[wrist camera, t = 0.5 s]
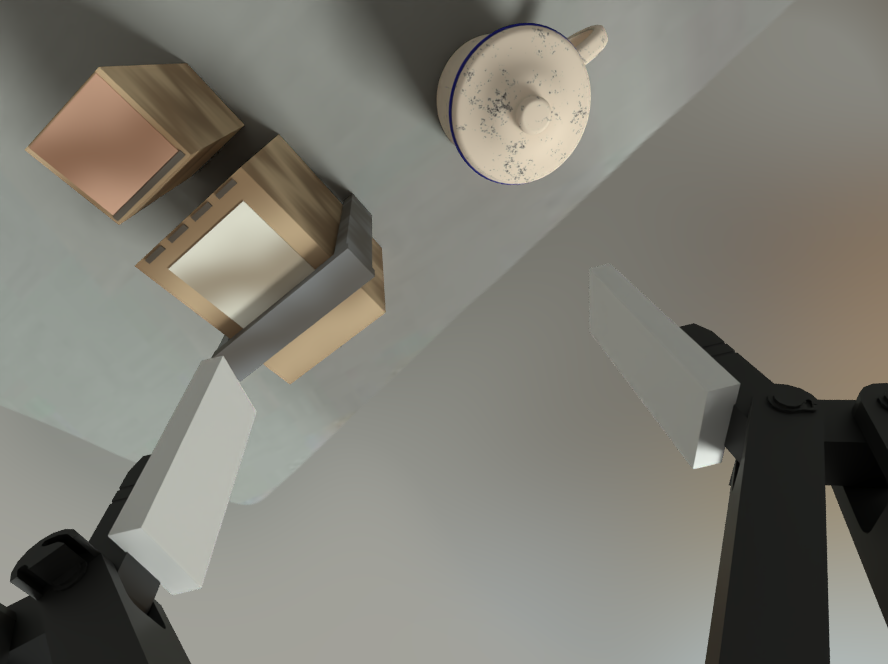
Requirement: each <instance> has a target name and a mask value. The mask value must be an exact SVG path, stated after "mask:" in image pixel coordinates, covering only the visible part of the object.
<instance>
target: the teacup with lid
mask: <svg viewBox="0 0 888 664" xmlns="http://www.w3.org/2000/svg"><path fill="white" fill-rule="evenodd" d="M607 41H608V36H607V33H606V31H605V29H604V27H603V26H601V25H594V26H590V27H588V28H585V29H583V30H581V31H579V32H577V33H575V34H573V35H571V36H570V37H568V38H566V37H565V36H563V35H562V34H561V33H559V32H557V31H556V30H554V29H552V28H549V27H547V26H544V25H540V24H535V23H518V24H513V25H509V26H506V27H503V28H501V29H498V30H496V31H494V32H493V33H491V34H486V35H481V36H478V37H476V38H473V39H471V40H469V41H468V42H466V43H465V44H463V45H462V46H461V47H460V48H459V49H458V50H456V52H455V53H454V54H453V55H452V56H451V58H450V59H449V60H448V62H447V64H446V65H445V67H444V69H443V71H442V74H441V77H440V80H439V83H438V89H437V111H438V116H439V120H440V123H441V126H442V128H443V130H444V132H445V134H446V135H447V137H448V138H449V140H450V141H451V142H452V143H453V144H454V145H455V146H456V148H457V150H458V152H459V154H460V155H461V157H462V158H463V160H464V161H465V162H466V163H467V164H468V166H469V167H470V168H471V169H473V170H474V171H475V172H476V173H477V174H479V175H480V176H482V177H484V178H486V179H488V180H490V181H493V182H496V183H500V184H507V185H518V184H525V183H529V182H532V181H535V180H538V179H540V178H542V177H544V176H546V175H548V174H550V173H551V172H553V171H554V170H555V169H557V168H558V167H559V166H560V165H561V164H562V163H563V162H564V161H565V160H566V159H567V158H568V157H569V156H570V155H571V153H572V152H573V151H574V149H575V148H576V146H577V144H578V143H579V141H580V139H581V137H582V135H583V132H584V130H585V127H586V124H587V121H588V117H589V111H590V103H591V90H590V82H589V77H588V73H587V70H586V67H585V65H586V64H587V63H589V62H590V61H591V60H592V59H594V58H595V57H596V56H597V55H598V54H599V53H600V52H601V51H602V50H603V49H604V47H605V46H606V44H607Z"/></svg>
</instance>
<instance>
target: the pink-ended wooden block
mask: <svg viewBox="0 0 888 664" xmlns="http://www.w3.org/2000/svg"><path fill="white" fill-rule="evenodd" d="M243 126H244V124H243V123H242V122H241V121H240V120H239V119H238V117H237V116H236V115H235V114H234V113H233V112H232V111H231V110H230V109H229V108H228V107H227V106H226V105H225V104H224V103H223V101H222V100H221V99H220V98H219V97H218V96H217V95H216V94H215V93H214V92H213V91H212V90H211V89H210V88H209V87H208V85H207V84H206V83H205V82H204V81H203V80H202V79H201V78H200V77H199V76H198V75H197V74H196V73H195V72H194V70H193V69H192V68H191V67H190V66H189V65H188V64H187V63H181V64H156V65H132V66H108V67H98V69H97V70H96V71H95V72H94V73H93V74H92V75H91V76H90V77H89V79H88V80H87V81H86V82H85V83H84V84H83V85H82V86H81V88H80V89H79V90H78V91H77V92H76V93H75V94H74V95H73V96H72V98H71V99H70V100H69V101H68V102H67V103H66V104H65V105H64V106H63V108H62V109H61V110H60V111H59V112H58V113H57V114H56V115H55V117H54V118H53V119H52V120H51V121H50V122H49V123H48V124H47V125H46V127H45V128H44V129H43V130H42V131H41V132H40V133H39V134H38V135H37V137H36V138H35V139H34V140H33V141H32V142H31V143H30V144H29V146H28V147H27V148H26V149H25V151H27V152H28V153H29V154H30V155H32V156H33V157H34V158H35V159H37V160H38V161H39V162H41V163H42V164H43V165H44V166H46V167H47V168H48V169H49V170H51V171H52V172H53V173H54V174H56V175H57V176H58V177H59V178H61V179H62V180H63V181H64V182H66V183H67V184H68V185H69V186H71V187H72V188H73V189H74V190H76V191H77V192H78V193H79V194H81V195H82V196H83V197H84V198H86V199H87V200H88V201H90V202H91V203H92V204H93V205H95V206H96V207H97V208H98V209H100V210H101V211H102V212H103V213H105V214H106V215H107V216H108V217H110V218H111V219H112V220H113V221H115V222H116V223H117V224H118V225H120V224H121V223H123V222H124V221H126V220H127V219H129V218H130V217H132V216H133V215H135V214H136V213H138V212H139V211H140V210H142V209H143V208H145V207H146V206H148V205H149V204H151V203H152V202H154V201H155V200H157V199H158V198H160V197H161V196H163V195H164V194H166V193H167V192H169V191H170V190H172V189H173V188H175V187H176V186H178V185H179V184H181V183H182V182H184V181H185V180H186V179H188V178H189V177H191V176H192V175H193V174H194V173H195V172H196V171H197V170H198V169H199V168H200V167H202V166H203V165H204V164H205V163H206V162H207V161H208V160H209V159H210V158H211V157H212V156H213V155H214V154H215V153H216V152H217V151H218V150H219V149H220V148H221V147H222V146H223V145H224V144H225V143H227V142H228V141H229V140H230V139H231V138H232V137H233V136H234V135H235V134H236V133H237V132H238V131H239V130H240V129H241V128H242V127H243Z"/></svg>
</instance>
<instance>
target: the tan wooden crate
mask: <svg viewBox="0 0 888 664" xmlns="http://www.w3.org/2000/svg"><path fill="white" fill-rule="evenodd" d="M135 267H137V268H138V269H139V270H140V271H142V272H143V273H144V274H146V275H147V276H148V277H150V278H151V279H152V280H154V281H155V282H156V283H158V284H159V285H160V286H161V287H163V288H164V289H165V290H167V291H168V292H169V293H171V294H172V295H173V296H175V297H176V298H177V299H179V300H180V301H181V302H182V303H184V304H185V305H186V306H188V307H189V308H190V309H192V310H193V311H194V312H196V313H197V314H198V315H200V316H201V317H202V318H203V319H205V320H206V321H207V322H209V323H210V324H211V325H213V326H214V327H215V328H217V329H218V330H219V331H221V332H222V333H223V334H224V337H223V339H222V341H221V343H220V345H219V347H218V349H217V350H216V351H215V352H214V354H213V356H212V358H215V357H219V356H224V358H225V359H226V361H227V363H228V364H229V366H230V368H231V370H232V371H233V373H234V375H235V376H236V378H237V379H238V380H239V381H242V380H243V379H244V378H246V377H247V376H248V375H249V374H251V373H252V372H253V371H255V370H256V369H257V368H258V367H260V366H261V365H262V364H264V365H265V366H266V367H268V368H269V369H270V370H272V371H273V372H274V373H276V374H277V375H278V376H280V377H281V378H282V379H284V380H285V381H286V382H287V383H289V384H291V383H293V382H294V381H295V380H296V379H298V378H299V377H300V376H302V375H303V374H304V373H306V372H307V371H308V370H310V369H311V368H312V367H314V366H315V365H316V364H318V363H319V362H320V361H322V360H323V359H324V358H326V357H327V356H328V355H330V354H331V353H332V352H334V351H335V350H336V349H338V348H339V347H340V346H342V345H343V344H344V343H346V342H347V341H348V340H350V339H351V338H352V337H354V336H355V335H356V334H358V333H359V332H360V331H362V330H363V329H364V328H366V327H367V326H368V325H370V324H371V323H372V322H374V321H375V320H376V319H378V318H379V317H380V316H382V315H383V314H384V313H386V311H385V295H384V278H383V261H382V248H381V247H380V246H379V245H378V243H377V242H376V241H375V240H374V239H373V238H372V215H371V214H370V213H369V212H368V210H367V209H366V208H365V207H364V206H363V205H362V204H361V202H360V201H359V200H358V199H357V198H356V197H355V196H354V194H351V195H350V196H349V197H348V198H347V199H345V200H344V202H343V205H342V204H341V202H340V201H339V200H338V199H337V198H336V197H335V196H334V195H333V194H332V192H331V191H330V190H329V189H328V188H327V187H326V186H325V185H324V184H323V183H322V181H321V180H320V179H319V178H318V177H317V176H316V175H315V174H314V173H313V171H312V170H311V169H310V168H309V167H308V166H307V165H306V164H305V163H304V161H303V160H302V159H301V158H300V157H299V156H298V155H297V154H296V153H295V151H294V150H293V149H292V148H291V147H290V146H289V145H288V144H287V143H286V142H285V140H284V139H283V138H282V137H281V136H280V135H277V136H276V137H275V138H274V139H273V140H272V141H270V142H269V143H268V144H267V145H266V146H265V147H263V148H262V149H261V150H260V151H259V152H258V153H256V154H255V155H254V156H253V157H252V158H251V159H250V160H248V161H247V162H246V163H245V164H244V165H243V166H241V167H240V168H239V169H238V170H237V171H236V172H235V173H234V174H233V175H232V176H231V177H230V178H228V179H227V180H226V181H225V182H224V183H223V184H222V185H221V186H220V187H219V188H218V189H217V190H216V191H215V192H213V193H212V194H211V195H210V196H209V197H208V198H207V199H206V200H205V201H204V202H203V203H202V204H201V205H200V206H198V207H197V208H196V209H195V210H194V211H193V212H192V213H191V214H190V215H189V216H188V217H187V218H186V219H184V220H183V221H182V222H181V223H180V224H179V225H178V226H177V227H176V228H175V229H174V230H173V231H172V232H171V233H169V234H168V235H167V236H166V237H165V238H164V239H163V240H162V241H161V242H160V243H159V244H158V245H157V246H156V247H154V248H153V249H152V250H151V251H150V252H149V253H148V254H147V255H146V256H145V257H144V258H143V259H142V260H141V261H139V262H138V263H137V264H136V265H135Z"/></svg>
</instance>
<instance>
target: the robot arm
mask: <svg viewBox="0 0 888 664" xmlns="http://www.w3.org/2000/svg"><path fill="white" fill-rule="evenodd" d="M589 314H590V316H589V317H590V319H589V321H590V333H591V335H592V336H593V337H594V338H595V340H596V341H597V343H598V344H599V345H600V347H601V348H602V349H603V351H604V352H605V353H606V355H607V356H608V357H609V359H610V360H611V361H612V363H613V364H614V365H615V367H616V368H617V369H618V370H619V372H620V373H621V375H622V376H623V377H624V378H625V380H626V381H627V382H628V384H629V385H630V386H631V388H632V389H633V390H634V392H635V393H636V394H637V396H638V397H639V398H640V400H641V401H642V402H643V404H644V405H645V406H646V407H647V409H648V410H649V411H650V413H651V414H652V416H653V417H654V418H655V420H656V421H657V422H658V424H659V425H660V426H661V428H662V429H663V430H664V432H665V433H666V434H667V435H668V437H669V438H670V439H671V441H672V442H673V443H674V445H675V446H676V447H677V449H678V450H679V451H680V453H681V454H682V455H683V457H684V458H685V459H686V461H687V462H688V463H689V465H690V466H691V467H692V469H696V468H701V467H705V466H709V465H713V464H717V463H721V462H722V458H723V453H724V449H725V447H726V448H727V449H728V450H729V452H730V453H731V454H732V455H733V456H734V457H735V458H736V460H735V464H734V468H733V472H732V476H731V479H730V483H729V485H730V486H731V489H730V496H729V503H728V510H727V517H726V524H725V530H724V538H723V544H722V551H721V558H720V565H719V572H718V579H717V586H716V593H715V599H714V606H713V613H712V619H711V626H710V633H709V640H708V647H707V654H706V660H705V664H830V648H829V610H828V575H827V574H828V573H827V536H826V500H825V499H826V498H825V485H831V486H832V489H833V491H834V494H835V496H836V499H837V501H838V504H839V506H840V509H841V511H842V514H843V516H844V519H845V521H846V524H847V526H848V529H849V531H850V534H851V536H852V539H853V541H854V544H855V547H856V549H857V552H858V554H859V556H860V559H861V562H862V564H863V567H864V569H865V572H866V574H867V577H868V579H869V582H870V584H871V587H872V589H873V592H874V594H875V597H876V599H877V602H878V604H879V607H880V609H881V612H882V614H883V617H884V619H885V622H886V624H887V627H888V383H879V384H871V385H868V386H866V387H864V388H863V389H862V390H861V392H860V393H859V395H858V397H857V400H817V399H816V398H815V397H814V396H813V395H812V394H810V393H808V392H806V391H804V390H802V389H800V388H797V387H793V386H790V385H784V384H774V383H772V382H771V381H770V380H769V379H768V378H767V377H765V376H764V375H763V374H762V373H761V372H760V371H758V370H757V369H756V368H755V367H753V366H752V365H751V364H750V363H749V362H748V361H747V360H745V359H744V358H743V357H742V356H741V355H739V354H738V353H735V351H734V349H732V348H731V347H730V346H729V345H728V344H725V343H724V341H723V340H722V339H720V338H719V337H718V336H717V335H716V334H715V333H713V332H712V331H710V330H708V329H706V328H703V327H701V326H699V325H697V324H689V325H685V326H681V327H679V326H677V325H676V324H675V323H674V322H673V321H672V320H671V319H670V318H669V317H668V316H667V315H666V314H664V313H663V312H662V311H661V310H660V309H659V308H658V307H657V306H656V305H655V304H654V303H653V302H651V301H650V300H649V299H648V298H647V297H646V296H645V295H644V294H643V293H642V292H641V291H640V290H638V289H637V288H636V287H635V286H634V285H633V284H632V283H631V282H630V281H629V280H628V279H627V278H625V277H624V276H623V275H622V274H621V273H620V272H619V271H618V270H616V268H614V266H612V265H611V264H606V265H602V266H597V267H593V268H590V269H589ZM255 415H256V410H255V408H254V407H253V405H252V403H251V402H250V400H249V398H248V396H247V395H246V393H245V391H244V390H243V388H242V386H241V385H240V383H239V381H238V380H237V378H236V376H235V375H234V373H233V371H232V370H231V368H230V366H229V364H228V363H227V361H226V359H225V358H224V356H219V357H215V358H211V359H207V360H202V361H201V363H200V365H199V367H198V368H197V370H196V372H195V374H194V376H193V378H192V380H191V382H190V383H189V385H188V387H187V389H186V391H185V393H184V395H183V396H182V398H181V400H180V402H179V404H178V406H177V408H176V409H175V411H174V413H173V415H172V417H171V419H170V421H169V423H168V424H167V426H166V428H165V430H164V432H163V434H162V436H161V437H160V439H159V441H158V443H157V445H156V447H155V449H154V450H153V452H152V454H151V455H147V456H143V457H142V458H141V459H140V460H139V461H138V462H137V463H136V464H135V465H134V466H133V468H132V469H131V470H130V471H129V472H128V474H127V475H126V477H125V479H124V480H123V483H122V484H121V486H120V490H119V491H117V493H116V494H115V496H114V498H113V500H112V504H110V505H109V507H108V509H107V510H106V512H105V514H104V516H103V517H102V519H101V521H100V523H99V524H98V526H97V528H96V530H95V531H94V533H93V535H92V537H91V539H90V540H89V542H88V541H87V540H85V539H84V538H83V537H82V536H81V535H80V534H78V533H77V532H76V531H75V530H74V529H64V530H61V531H58V532H55V533H53V534H51V535H49V536H47V537H45V538H44V539H42V540H40V541H39V542H38V543H37V544H35V545H34V546H33V547H32V548H30V549H29V550H28V551H27V552H26V553H25V555H24V556H23V557H22V558H21V559H20V560H19V561H18V562H17V564H16V566H15V567H14V569H13V571H12V573H11V579H10V582H11V583H12V584H14V585H15V586H17V587H18V588H20V589H21V590H23V591H24V592H26V593H27V594H29V596H28V597H26V598H23V599H22V600H20V601H18V602H16V603H14V604H12V605H10V606H8V607H6V606H4V605H2V604H1V603H0V664H191V663H190V661H189V659H188V657H187V655H186V653H185V651H184V649H183V647H182V645H181V643H180V641H179V640H178V637H177V635H176V633H175V631H174V630H173V628H172V626H171V624H170V622H169V620H168V618H167V617H166V614H165V612H164V610H163V608H162V606H161V605H160V604H159V603H158V602H157V601H156V600H155V599H154V598H155V596H156V593H157V591H158V588H159V585H160V584H161V585H162V586H163V587H164V588H165V589H166V590H167V591H168V592H170V593H171V594H172V595H175V594H180V593H184V592H187V591H192V590H196V589H200V588H202V584H203V582H204V578H205V575H206V572H207V569H208V565H209V562H210V559H211V556H212V553H213V550H214V546H215V543H216V540H217V537H218V534H219V530H220V527H221V524H222V521H223V518H224V515H225V511H226V508H227V505H228V502H229V499H230V495H231V492H232V489H233V486H234V483H235V479H236V476H237V473H238V470H239V467H240V463H241V460H242V457H243V454H244V451H245V447H246V444H247V441H248V438H249V435H250V431H251V428H252V425H253V422H254V419H255Z"/></svg>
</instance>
